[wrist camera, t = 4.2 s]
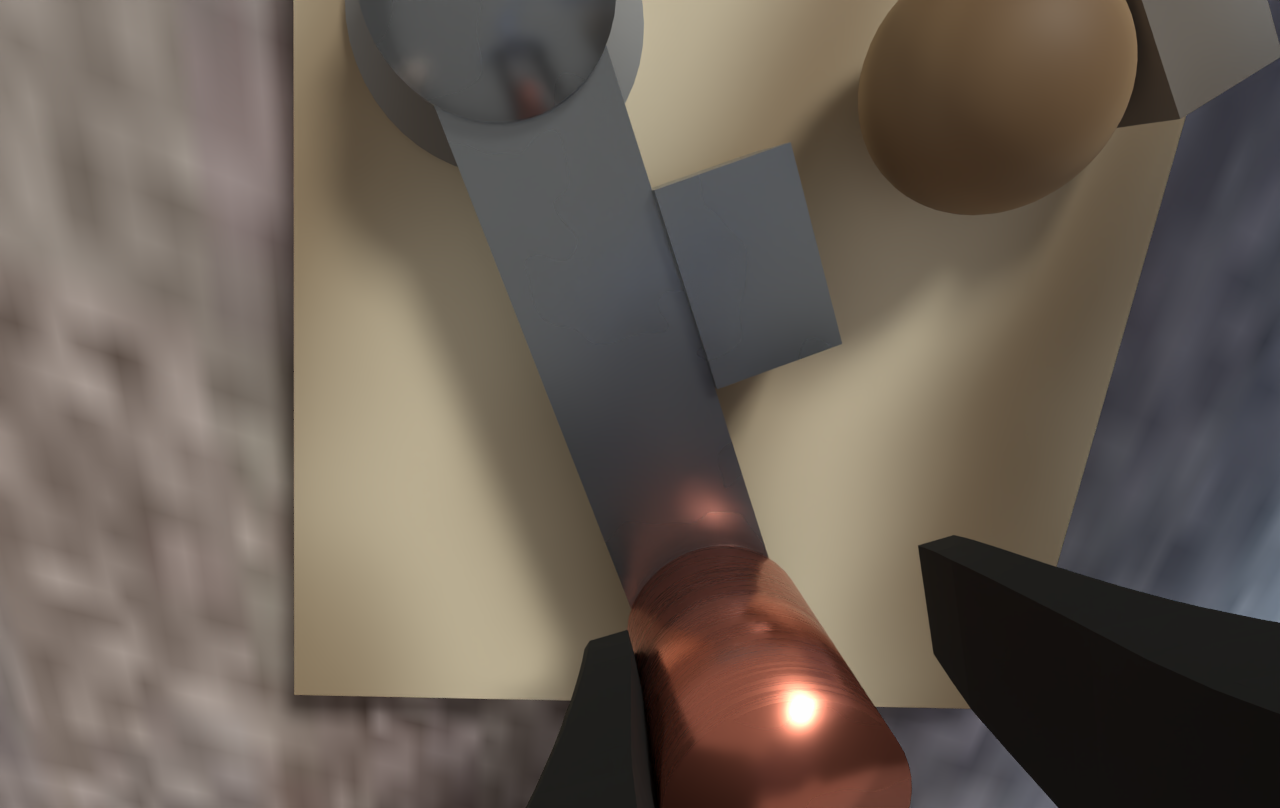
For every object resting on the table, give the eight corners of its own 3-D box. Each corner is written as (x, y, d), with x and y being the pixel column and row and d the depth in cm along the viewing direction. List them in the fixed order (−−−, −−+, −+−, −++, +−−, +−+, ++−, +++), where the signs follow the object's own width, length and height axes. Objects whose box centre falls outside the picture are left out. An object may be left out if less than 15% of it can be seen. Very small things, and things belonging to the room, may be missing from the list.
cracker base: (1175, -31, 13) (1508, -158, 9) (983, 675, 17) (1145, 849, 12) (319, -200, 11) (158, -490, 6) (313, 656, 15) (207, 860, 10)
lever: (667, -171, 10) (788, -550, 5) (872, 587, 14) (1061, 808, 9) (348, -63, 10) (144, -341, 5) (642, 673, 14) (698, 947, 9)
